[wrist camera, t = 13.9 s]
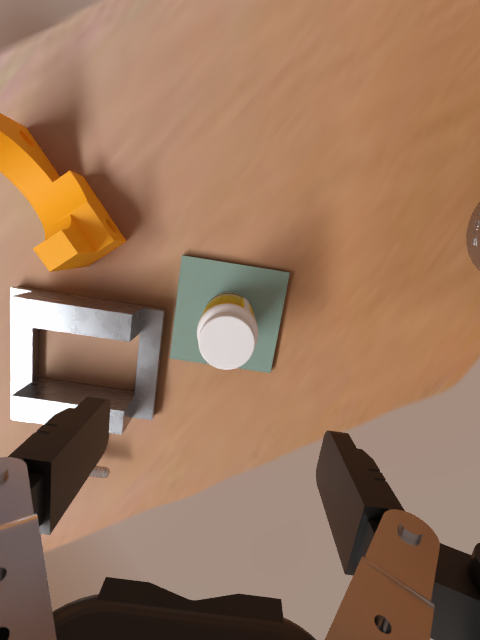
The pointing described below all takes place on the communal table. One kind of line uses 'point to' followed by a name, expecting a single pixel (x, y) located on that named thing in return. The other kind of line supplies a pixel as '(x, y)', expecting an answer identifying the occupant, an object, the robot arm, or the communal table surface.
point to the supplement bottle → (227, 331)
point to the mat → (219, 277)
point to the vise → (92, 320)
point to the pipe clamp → (57, 203)
